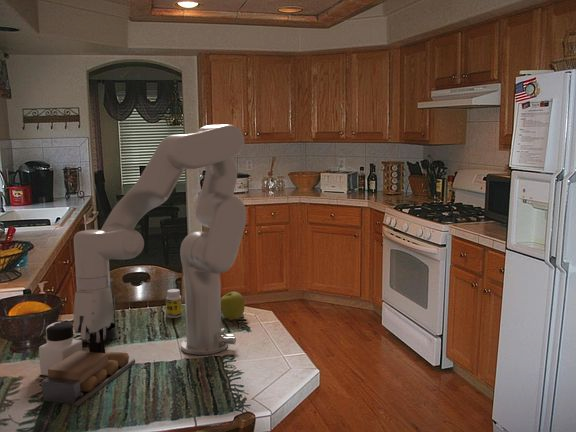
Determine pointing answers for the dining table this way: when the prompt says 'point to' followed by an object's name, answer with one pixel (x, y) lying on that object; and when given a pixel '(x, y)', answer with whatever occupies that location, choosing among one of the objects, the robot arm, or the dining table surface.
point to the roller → (88, 384)
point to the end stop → (61, 390)
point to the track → (106, 373)
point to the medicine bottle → (57, 345)
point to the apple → (232, 305)
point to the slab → (79, 366)
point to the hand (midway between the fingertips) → (97, 356)
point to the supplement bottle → (173, 303)
